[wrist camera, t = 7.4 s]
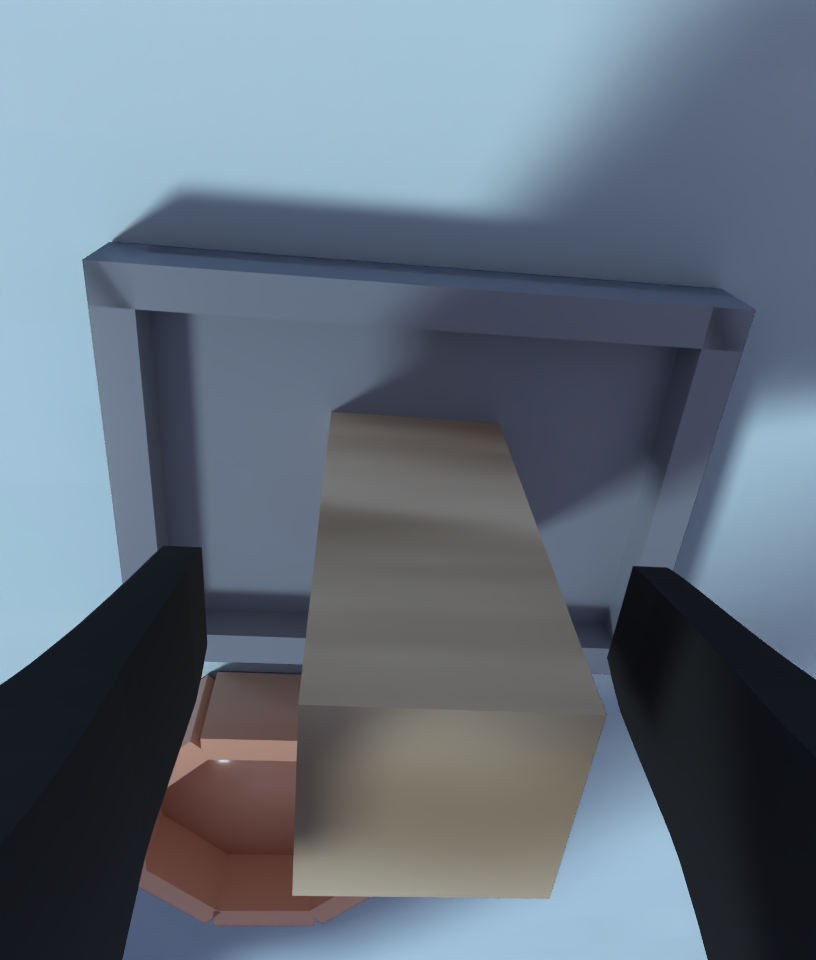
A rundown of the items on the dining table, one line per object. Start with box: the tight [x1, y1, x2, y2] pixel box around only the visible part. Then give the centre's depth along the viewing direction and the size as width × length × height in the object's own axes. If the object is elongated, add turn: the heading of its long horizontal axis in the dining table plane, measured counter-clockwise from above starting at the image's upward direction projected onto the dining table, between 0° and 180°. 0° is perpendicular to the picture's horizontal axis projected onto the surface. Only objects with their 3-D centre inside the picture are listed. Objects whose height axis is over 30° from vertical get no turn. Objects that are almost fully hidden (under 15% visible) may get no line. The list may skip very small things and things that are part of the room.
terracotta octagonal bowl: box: [139, 672, 369, 926], centre depth 20 cm, size 8×8×2 cm
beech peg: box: [292, 412, 606, 899], centre depth 13 cm, size 4×4×8 cm
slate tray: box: [82, 242, 755, 674], centre depth 16 cm, size 9×12×2 cm
